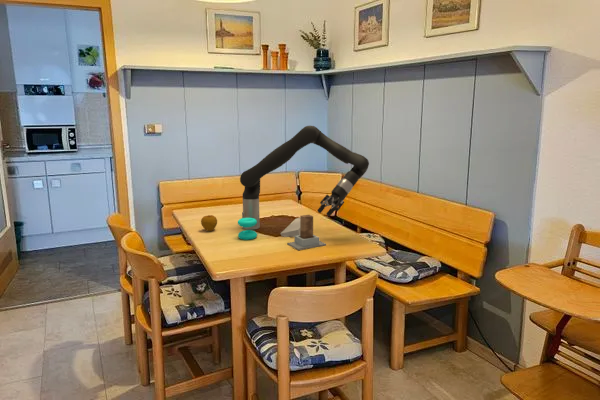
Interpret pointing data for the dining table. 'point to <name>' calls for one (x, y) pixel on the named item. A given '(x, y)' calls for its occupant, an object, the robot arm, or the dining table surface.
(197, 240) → the dining table surface
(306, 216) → the brown cylinder
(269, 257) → the dining table surface
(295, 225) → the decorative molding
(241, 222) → the donuts
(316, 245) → the grey open box
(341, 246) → the dining table surface
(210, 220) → the apple
